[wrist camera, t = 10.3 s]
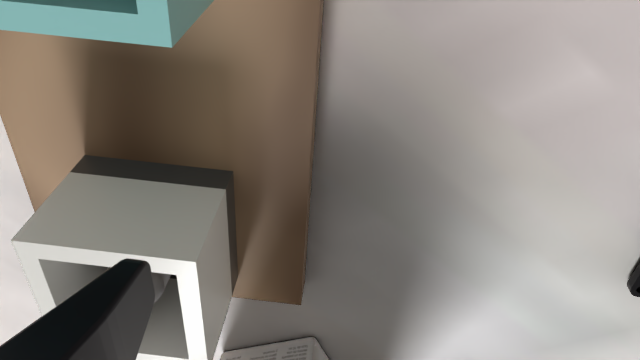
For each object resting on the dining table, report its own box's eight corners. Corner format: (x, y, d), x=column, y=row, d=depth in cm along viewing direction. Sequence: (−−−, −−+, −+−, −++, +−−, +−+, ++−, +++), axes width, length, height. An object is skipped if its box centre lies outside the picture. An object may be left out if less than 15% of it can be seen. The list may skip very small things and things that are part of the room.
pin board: (346, -333, 12) (323, -427, 7) (304, 281, 25) (286, 394, 20) (-124, -364, 13) (-436, -474, 8) (72, 254, 26) (0, 357, 21)
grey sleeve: (233, 171, 20) (195, 262, 16) (238, 276, 23) (208, 372, 19) (84, 154, 20) (11, 240, 16) (111, 261, 24) (56, 353, 20)
